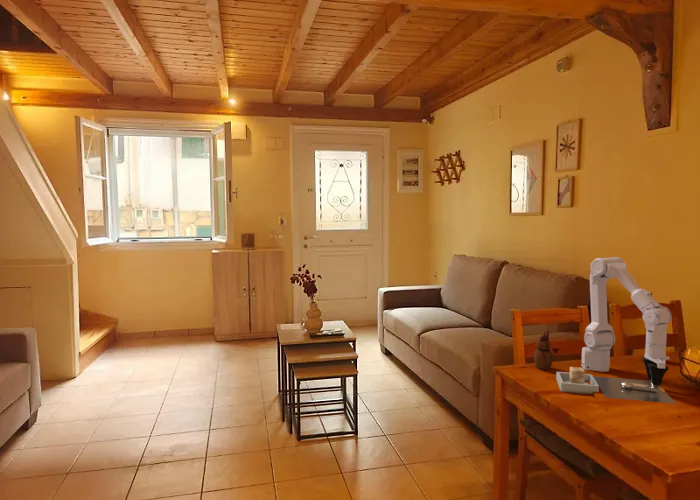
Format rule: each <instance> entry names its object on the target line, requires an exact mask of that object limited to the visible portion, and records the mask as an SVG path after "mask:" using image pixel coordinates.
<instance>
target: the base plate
mask: <svg viewBox="0 0 700 500" xmlns="http://www.w3.org/2000/svg"><path fill="white" fill-rule="evenodd" d="M592 376H593V378H594V379H595V381H596V382H597V384H598V386H599V390H601V392H602V394H603V395H604V397H605V398H609V399H610V398H611V399H619V400H620V399H621V400H629V401H641V402H652V403H653V402H654V403H664V404H675V405H677V403H676V402H675V400H674V399H673V398H672V397H671V396H670V395H669V394H668V393H667V392H666V391H665V389H664V388H662V387H661V385H660V386H659V389H657V392H656V391H649V390H641V389H634V388H624V387H622V386H621V382H630V383H635V384H643V385H650V386H651V380H648V379H647V380H645V379H633V378H630V379H629V378H622V377H621V378H619V377H606V376H595V375H592Z"/></svg>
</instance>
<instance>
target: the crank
mask: <svg viewBox="0 0 700 500" xmlns="http://www.w3.org/2000/svg"><path fill="white" fill-rule="evenodd" d="M650 373H651V372H650ZM650 381H651V386H650V385H643V384H635V383H630V382H621V386H622V387H624V388H634V389H641V390H649V391H656V392H657V389H659V386H655V385H653V384H652V380H650Z"/></svg>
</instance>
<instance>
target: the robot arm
mask: <svg viewBox="0 0 700 500" xmlns="http://www.w3.org/2000/svg"><path fill="white" fill-rule="evenodd" d="M589 265H590V275H589V293H590V294H589V295H590V317H591V320H590V321H591V322H590V323H589V324H588V325H587V326H586V327H585V333H584V336H583V341H584V343H585V345H586V346H584V347H582V348H581V364H580V365H581V366H580V367H581V368H583V370H584V371H596V372H604V373H605V372H609V371H610V361H611V359H610V358H611V357H610V356H611V355H610V354H611V349H612V347H613V345H615V343H616V336H615V333H614V328H613V326H612V325H610V324H609V321H608V301H607V299H608V297H607V282H608V281H609V280H610V279H612V278H613V279H616V280H618V282H619V283H620V284H621V285H622V286H623V287H624V288H625V289H626V290H627V291H628V292H629V294H630V295H631V296H630V299H631V301H632V302H633V304H634V305H635V306H636V308H637V309H638V310H640V311H641V313H642V320H643V322H644V326H645V329H646V331H645V353H644V357H642V358H641V359H642V360H641V361H642V362H643V363H644V367H645V371H646V378H647V381H651V380H652V384H653V385H655V386H660V387H661V385H662V382H663V379H664V377H665V374H666V373H667V371H668V370H669V366H668V365H666V361H669V360H670V359H671V358H670V357H669V356H668V355H666V353H667V352H666V350H667V336H668V335H667V330H668V324H669V323H671V321H672V320H673V319H672V318H673V317H672V312H671V310H670V309H669V308H668V307H666V306H663V305H661V304H660V303H659V302H658V301H657V300H656V299H655V298H654V296H653V295H652V296H651V293H652V292H650V291H649V290H647V289H644V288H641V287H640V286H639V284H638V283H637V281H636V280H635V279H634V278H633V276H632V275H631V273H630V272H629V271H628V269H627V266H628V265H627V264H626V262H624V260H623V258H622V257H618V256H614V257H602V258H601V257H597V258H595V259H594V260H593V261H592V262H590V264H589ZM650 372H651V373H650Z"/></svg>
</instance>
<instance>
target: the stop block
mask: <svg viewBox="0 0 700 500" xmlns="http://www.w3.org/2000/svg"><path fill="white" fill-rule="evenodd" d="M585 371H586V370H584V368H583V367H579V366H578V367H576V366H569V373H570V377H569V383H576V384H584V374H586V372H585Z"/></svg>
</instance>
